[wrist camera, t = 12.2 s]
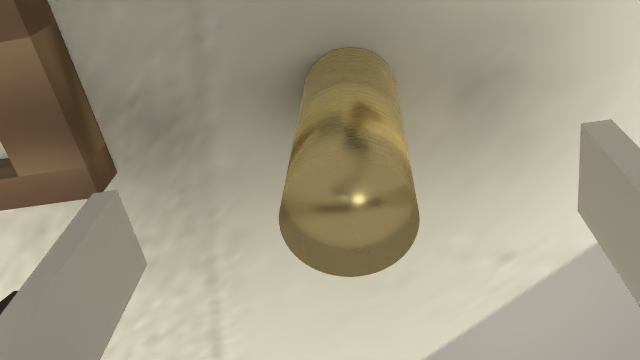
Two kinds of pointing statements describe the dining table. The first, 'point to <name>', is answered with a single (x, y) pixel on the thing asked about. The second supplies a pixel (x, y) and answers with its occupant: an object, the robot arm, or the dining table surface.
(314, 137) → the peg
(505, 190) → the dining table surface
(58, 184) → the board
